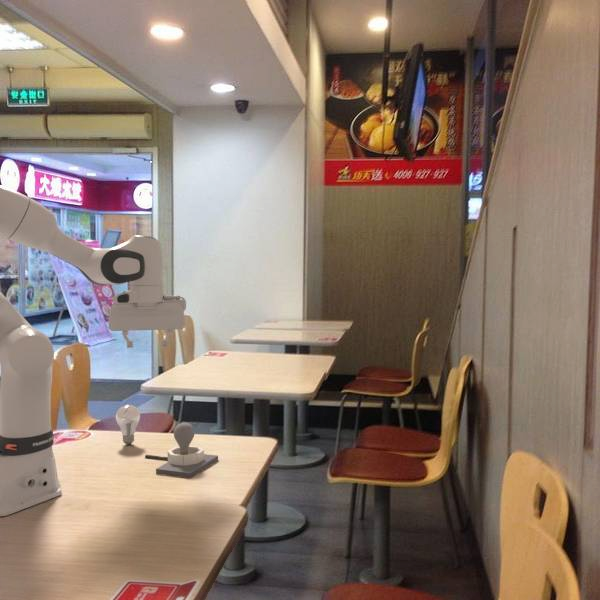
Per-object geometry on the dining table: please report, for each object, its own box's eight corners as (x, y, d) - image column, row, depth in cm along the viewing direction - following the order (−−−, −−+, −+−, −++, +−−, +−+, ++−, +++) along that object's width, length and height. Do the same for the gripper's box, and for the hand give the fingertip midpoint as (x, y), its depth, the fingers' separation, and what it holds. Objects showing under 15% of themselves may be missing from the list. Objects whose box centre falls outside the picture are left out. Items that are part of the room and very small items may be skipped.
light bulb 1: (116, 449, 181) (115, 408, 180) (116, 442, 187) (115, 403, 187) (140, 447, 182) (140, 406, 182) (140, 440, 189) (139, 401, 188)
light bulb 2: (185, 455, 170) (185, 419, 170) (198, 459, 167) (198, 422, 166) (169, 460, 166) (169, 423, 165) (183, 464, 162) (183, 426, 162)
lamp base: (190, 477, 156) (190, 463, 156) (123, 469, 162) (122, 455, 162) (218, 459, 170) (217, 446, 170) (154, 452, 177) (154, 440, 176)
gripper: (185, 294, 173) (186, 344, 174) (109, 296, 169) (110, 346, 170) (185, 295, 167) (186, 347, 168) (106, 297, 163) (108, 349, 164)
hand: (147, 346), depth 169 cm, fingers open, 8 cm apart
